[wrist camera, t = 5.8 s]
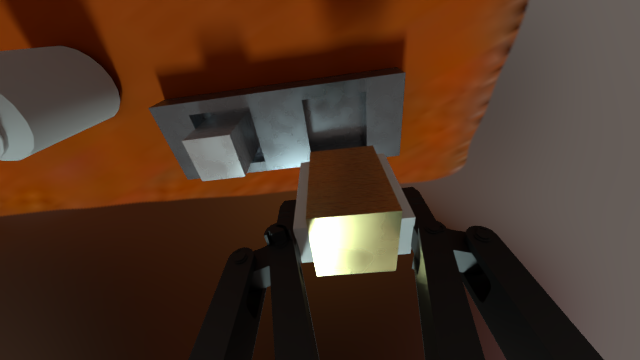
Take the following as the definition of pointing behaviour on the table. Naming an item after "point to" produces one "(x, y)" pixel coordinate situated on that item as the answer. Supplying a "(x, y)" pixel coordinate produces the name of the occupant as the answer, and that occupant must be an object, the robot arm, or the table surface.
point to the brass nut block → (351, 213)
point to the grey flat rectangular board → (297, 117)
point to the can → (50, 98)
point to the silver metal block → (223, 145)
